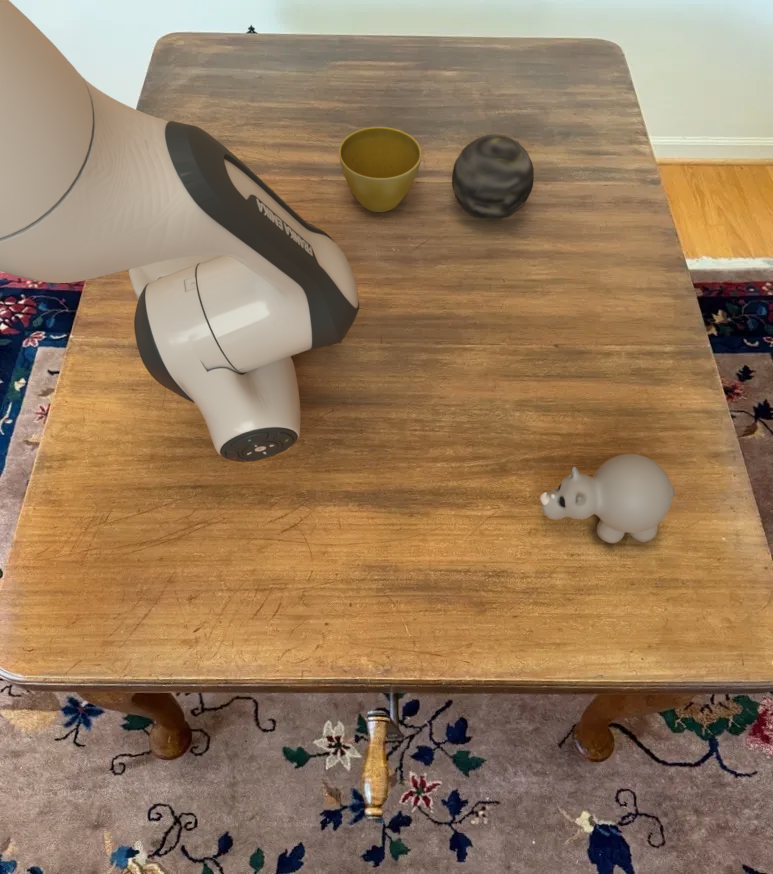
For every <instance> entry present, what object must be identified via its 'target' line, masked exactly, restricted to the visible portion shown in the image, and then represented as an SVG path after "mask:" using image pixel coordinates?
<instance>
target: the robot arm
mask: <svg viewBox="0 0 773 874" xmlns="http://www.w3.org/2000/svg"><path fill="white" fill-rule="evenodd" d="M125 271H128V275H129V280H130V284H131V288H132V289H133V293H134V296H135V298H136V301H137V303H136V307H135V313H134V321H133V326H134V327H133V328H134V329H133V330H134V336H135V341H136V346H137V349H138V353H139V356H140V359H141V361H142V364H143V366H144V368H145V369H146V370H147V372H148V373H149V375H151V377H152V378H153V379H154V380H155V381H156V382H157V383H159V385H161V386H162V387H164V388H165V389H168V390H169V391H171V392H173V393H174V394H175V395H178V396H180V397H181V398H183V399H184V400H187V401H189V402H191V403H194V404H195V406H196V407H197V408H198V410H199V412H200V414H201V416H202V417H203V420H204V422H205V424H206V427H207V430H208V433H209V435H210V440H211V442H212V444H213V447H214V449H215V451H216V453H217V454H218V455H219V456H221V458H223V459H225V460H228V461H233V462H237V463H245V462H256V461H257V462H258V461H260V460H264V459H268V458H270V457H273V456H276V455H278V454H281V453H283V452H286V451H287V450H288V449H291V447H292V446H294V445H295V444H296V442H297V441H298V440H299V438H300V435H301V426H302V424H301V421H302V420H301V419H302V416H301V415H302V414H301V400H300V391H299V390H300V389H299V384H298V383H299V382H298V377H297V373H296V372H297V371H296V366H295V364H294V361H293V358H292V357H293V356H295V355H299V354H300V353H303V352H304V353H305V352H306V351H315V350H318V349H321V348H325V347H330V346H332V345H336V344H340V343H342V341H343V340H344V339H345V337H346V336H347V334H348V332H349V331H350V329H351V328H352V325H353V324H354V323H355V320H356V319H357V318H356V317H357V315H358V313H359V310H360V300H359V290H358V285H357V281H356V277H355V273H354V271H353V269H352V266H351V264H350V262H349V260H348V258H347V257H346V255H345V253H344V252H343V251H342V249H341V248H340V246H339V245H338V244H337V243H336V242H335V240H334V239H333V237H332V236H330V234H328V233H327V232H325V231H324V230H323V229H321V228H319V227H317V226H315V225H313V224H311V223H309V222H307V220H305V219H304V218H303V217H301V216H300V215H299V213H297V212H296V211H295V210H294V208H292V207H291V206H290V205H289V204H288V203H286V201H284V200H283V198H282V197H280V196H279V195H278V193H276V192H275V191H274V190H273V189H272V188H271V187H270V186H269V185H268V184H266V183H265V182H264V180H262V179H261V178H260V177H259V176H258V175H257V174H256V173H255V172H254V171H253V170H252V169H250V167H248V166H247V165H246V164H245V163H244V162H243V161H242V160H241V159H240V158H239V157H238V156H236V154H234V153H233V152H232V151H230V150H229V149H228V148H227V147H226V146H225V145H223V144H222V143H221V142H220V141H219V140H218V139H216V138H215V137H214V136H212V135H211V134H210V133H208V132H207V131H205V130H204V129H202V128H201V127H199V126H196V125H193V124H188V123H184V122H180V121H174V120H170V121H169V120H165V119H163V118H160V117H157V116H153V115H151V114H148V113H146V112H143V111H141V110H138V109H136V108H134V107H132V106H129V105H127V104H125V103H123V102H121V101H119V100H117V99H115V98H113V97H111V96H110V95H108V94H106V93H105V92H103V91H101V90H100V89H98V88H97V87H96V86H95V85H94V84H92V83H90V82H89V81H88V80H87V79H86V78H85V77H84V76H83V75H81V73H79V72H78V70H77V69H76V67H75V66H74V65H73V64H72V63H71V62H70V60H68V58H66V56H65V55H64V54H63V53H62V51H60V50H59V48H58V47H57V45H55V44H54V42H53V41H51V40H50V38H48V37H47V35H45V34H44V32H43V31H42V30H41V29H40V28H39V27H38V26H36V25H35V24H34V22H33V21H32V20H31V19H29V18H28V16H26V15H25V14H24V13H23V11H22V10H20V9H19V8H18V7H17V6H16V5H15V4H14V3H12V2H11V1H10V0H0V272H1V273H5V274H7V275H11V276H15V277H19V278H23V279H27V280H30V281H31V280H32V281H36V282H41V283H49V284H69V283H70V284H71V283H79V282H85V281H90V280H93V279H97V278H102V277H107V276H110V275H113V274H118V273H121V272H125Z"/></svg>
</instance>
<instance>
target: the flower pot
mask: <svg viewBox="0 0 773 874" xmlns="http://www.w3.org/2000/svg"><path fill="white" fill-rule="evenodd" d="M422 155H423V152H422V148H421V145H420V143H419V142H418V141H417V139H415V138H414V136H412V135H411V134H409V133H407V132H405V131H404V130H401V129H397V128H395V127H388V126H369V127H368V126H367V127H364V128H360V129H357V130H355V131H353V132H351V133H350V134H348V135H346V137H345V138H344V139H343V140H342V141H341V143H340V145H339V148H338V157H339V158H338V159H339V162H340V163H339V164H340V166H341V170H342V173H343V177H344V179H345V181H346V183H347V185H348V187H349V189H350V191H351V193H352V194H353V196H354V197H355V199H356V200H357V201H358V203H359V204H360V205H361V206H362V207H364V209H366V210H367V211H370V212H374V213H385V212H390V211H391V210H393V209H395V208H396V207H397V206H398V205H399V204H400V203H401V202H402V200H404V198H405V197H406V196H407V194H408V192H409V191H410V189H411V187H412V186H413V184H414V181H415V179H416V177H417V174H418V173H419V172H418V171H419V168H420V166H421V161H422Z"/></svg>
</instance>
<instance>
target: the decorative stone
mask: <svg viewBox="0 0 773 874" xmlns="http://www.w3.org/2000/svg"><path fill="white" fill-rule="evenodd" d="M534 169H535V168H534V165H533V161H532V159H531V157H530V154H529V152H528V151H527V150H526V149H525V147H524V146H522V144H521V143H520V142H519V141H517V140H515V139H513V138H512V137H510V136H507V135H504V134H495V133H494V134H487V135H484V136H480V137H477V138H475V139H474V140H473V141H471V142H470V143H468V144H467V145H466V146H465V147H464V148H463V149H462V151H461V152H460V153H459V155H458V157H457V158H456V160H455V161H454V164H453V169H452V175H451V187H452V190H453V193H454V196H455V200H456V201H457V203H458V204H459V206H460V207H461V208H462V209H463V210H464V211H465V212H466V213H467V214H469V215H470V216H472V217H473V218H476V219H479V220H482V221H489V222H490V221H491V222H492V221H493V222H495V221H501V220H503V219H506V218H509V217H512V216H513V215H514V214H515V213H516V212H518V211H519V210H521V208H523V207H524V206H525V204H526V202H527V200H528V199H529V197H530V195H531V193H532V190H533V187H534V181H535V180H534V179H535V178H534V177H535V171H534Z"/></svg>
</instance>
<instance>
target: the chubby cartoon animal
mask: <svg viewBox="0 0 773 874" xmlns="http://www.w3.org/2000/svg"><path fill="white" fill-rule="evenodd" d="M675 494H676V490H675V487H674V486H673V485H672V483H671V480H670V477H669V475H668V474H667V472H666V471H665V469H664V468H663V467H662V466H661V465H660V464H659V463H658V462H656V461H655V460H654V459H652V458H649V457H647V456H644V455H641V454H635V453H624V454H619V455H616V456H613V457H611V458H609V459H608V460H606V461H605V462H603V463H602V464H601V465H600V466H599V467H598V468H597V470H596V471H595V473H594V474H593V476H592V477H591V476H589V475H588V474H584V473H580V471H579V469H578V467H576V466H572V467H571V473H570V474H568V475H566V476H565V477H563V478H562V480H561V482H560V483H559V484H558V486H557V487H556V488H554V489H552V490H549V491H547V492H543V493H541V494H540V496H539V500H540V510H541V511H542V513H543V515H544V516H545V517H547V518H548V519H550V520H554V521H555V520H561V519H562V520H563V519H564V518H571V519H574V520H586V519H589V518H590V517H592V516H594V515H595V516H597V517H598V519H599V521H598V523H597V525H596V534H597V536H598V537H599V538H600V539H601V540H602V541H604V542H606V543H607V544H616V543H618V542H620V541H621V540H622V539H623V538H624V536H625V535H626V533H628V534H629V535H630V536H631V537H632V538H633V539H634V540H636V541H638V542H641V543H647V542H650V541H652V540H653V539H654V538H655V537H656V535H657V533H658V530H659V524H660V523H662V521H663V520H664V519H665V518H666V516H667V515H668V513H669V512H670V510H671V509H670V508H671V507H672V503H673V499H674V497H675Z"/></svg>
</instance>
